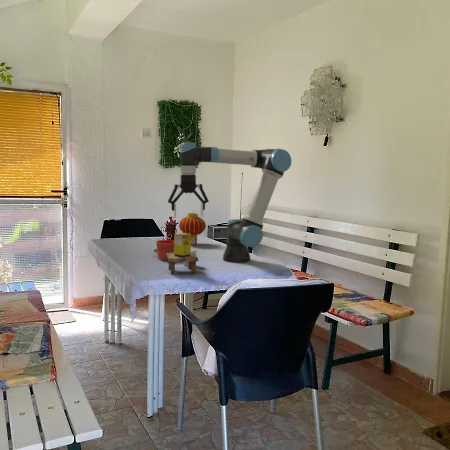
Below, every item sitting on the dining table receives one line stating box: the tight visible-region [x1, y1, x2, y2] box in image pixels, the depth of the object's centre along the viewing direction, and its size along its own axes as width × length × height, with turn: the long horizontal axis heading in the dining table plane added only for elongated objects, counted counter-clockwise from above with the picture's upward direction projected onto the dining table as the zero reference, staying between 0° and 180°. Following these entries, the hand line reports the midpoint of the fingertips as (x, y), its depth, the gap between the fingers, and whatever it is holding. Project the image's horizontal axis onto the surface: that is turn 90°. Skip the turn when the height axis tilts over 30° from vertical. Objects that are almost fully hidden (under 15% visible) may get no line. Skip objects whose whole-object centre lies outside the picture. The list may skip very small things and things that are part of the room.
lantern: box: [178, 212, 207, 246], centre depth 311 cm, size 17×17×30 cm
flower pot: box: [155, 239, 174, 261], centre depth 266 cm, size 11×11×10 cm
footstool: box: [166, 253, 199, 275], centre depth 239 cm, size 14×14×8 cm
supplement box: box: [173, 232, 192, 257], centre depth 237 cm, size 6×6×11 cm
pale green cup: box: [183, 249, 197, 268], centre depth 251 cm, size 6×6×8 cm
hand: (188, 216), depth 242 cm, fingers open, 13 cm apart
